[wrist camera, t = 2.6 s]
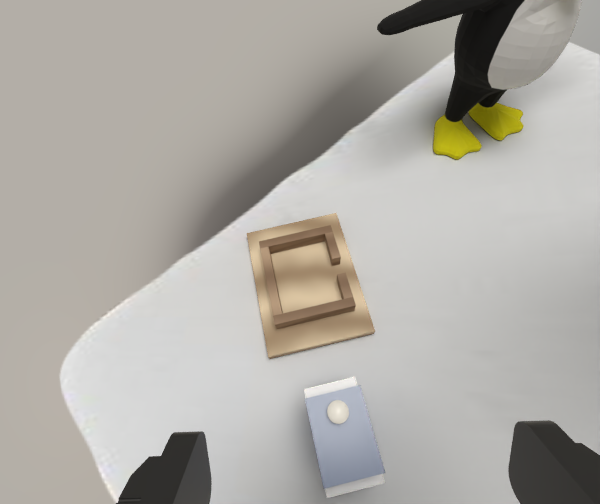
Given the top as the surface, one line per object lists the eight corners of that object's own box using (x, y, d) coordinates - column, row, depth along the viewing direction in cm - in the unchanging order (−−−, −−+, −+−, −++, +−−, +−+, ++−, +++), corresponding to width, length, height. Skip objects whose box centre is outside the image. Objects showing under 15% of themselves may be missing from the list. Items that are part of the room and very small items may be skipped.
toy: (388, 205, 46) (474, -98, 19) (343, 144, 51) (362, -157, 25) (597, 108, 51) (894, -236, 24) (536, 63, 57) (724, -259, 30)
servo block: (372, 470, 33) (392, 490, 23) (326, 482, 32) (327, 507, 23) (349, 385, 36) (357, 371, 26) (308, 395, 36) (301, 385, 26)
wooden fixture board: (373, 333, 38) (377, 326, 36) (269, 358, 38) (265, 353, 35) (335, 217, 46) (336, 204, 43) (248, 237, 45) (243, 225, 42)
